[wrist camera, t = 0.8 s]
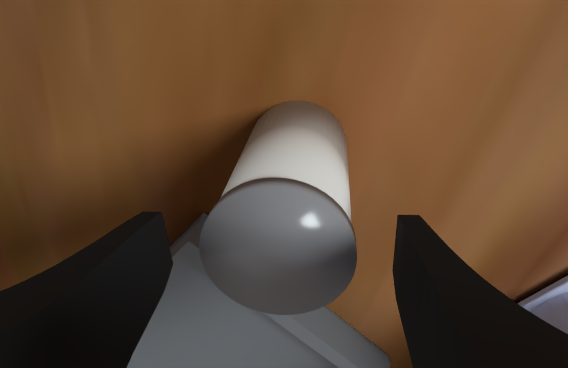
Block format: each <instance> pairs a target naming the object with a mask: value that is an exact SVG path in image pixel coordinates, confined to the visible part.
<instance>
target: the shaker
mask: <svg viewBox="0 0 568 368" xmlns="http://www.w3.org/2000/svg"><path fill="white" fill-rule="evenodd" d="M199 249H200V257H201V260H202V264H203V266H204V269H205V271H206V273H207V274H208V276H209V278H210V279H211V280H212V282H213V283H214V284H215V285H216V286H217V287H218V288H219V289H220V290H221V291H222V292H223V293H224V294H225V295H226V296H228V297H229V298H231V299H232V300H234V301H235V302H237V303H239V304H241V305H243V306H245V307H247V308H250V309H252V310H256V311H259V312H263V313H268V314H275V315H295V314H302V313H307V312H311V311H314V310H317V309H319V308H321V307H323V306H326V305H327V304H329V303H330V302H332V301H334V300H335V299H336V298H337V297H338V296H340V295H341V294H342V292H343V291H344V290H345V289H346V288H347V286H348V285H349V283H350V282H351V280H352V277H353V275H354V272H355V269H356V262H357V250H356V237H355V233H354V229H353V226H352V223H351V210H350V193H349V177H348V160H347V143H346V137H345V133H344V130H343V128H342V126H341V124H340V123H339V121H338V120H337V119H336V118H335V117H334V116H333V114H331V113H330V112H329V111H328V110H326V109H325V108H323V107H321V106H319V105H317V104H314V103H311V102H306V101H288V102H283V103H280V104H278V105H276V106H274V107H272V108H270V109H269V110H267V111H266V112H265V113H264V114H263V115H262V116H261V117H260V118H259V119H258V121H257V123H256V124H255V126H254V128H253V130H252V132H251V135H250V137H249V139H248V141H247V143H246V145H245V147H244V149H243V151H242V154H241V156H240V158H239V160H238V162H237V164H236V166H235V168H234V170H233V172H232V175H231V177H230V179H229V181H228V183H227V185H226V187H225V189H224V191H223V194H222V196H221V198H220V199H219V200H218V201H217V202H216V203H215V205H214V206H213V208H212V209H211V211H210V213H209V215H208V217H207V219H206V221H205V223H204V226H203V228H202V231H201V235H200V242H199Z"/></svg>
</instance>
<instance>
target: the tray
mask: <svg viewBox="0 0 568 368" xmlns="http://www.w3.org/2000/svg"><path fill="white" fill-rule="evenodd" d="M207 217H208V215H207V214H206V213H204V212H203V213H202V214H201V215H200V216H199V217H198V218H197V219H196V220H195V221H194V222H193V223H192V224H191V225H190V226H189V227H188V228H187V229H186V230H185V231H184V232H183V233H182V234H181V235H180V236H179V237H178V238H177V239H176V240H175V241H174V242H173V243H172V244H171V245H170V246H169V247H170V251H171V256H172V260H173V267H172V270H171V273H170V276H169V279H168V282H167V285H166V288H165V291H164V293H163V295H162V297H161V299H160V301H159V303H158V305H157V307H156V309H155V311H154V313H153V315H152V317H151V319H150V321H149V323H148V325H147V327H146V329H145V331H144V333H143V335H142V337H141V339H140V341H139V343H138V345H137V347H136V349H135V351H134V353H133V355H132V357H131V359H130V361H129V364H128V366H127V368H391V366H390V359H389V356H388V355H387V354H386V353H385V352H383V351H382V350H381V349H379V348H378V347H377V346H376V345H374V344H373V343H372V342H370V341H369V340H368V339H367V338H365V337H364V336H363V335H361V334H360V333H359V332H358V331H356V330H355V329H354V328H352V327H351V326H350V325H348V324H347V323H346V322H345V321H343V320H342V319H341V318H339V317H338V316H337V315H336V314H334V313H333V312H332V311H330V310H329V309H328V308H327V307H325V306H323V307H321V308H319V309H317V310H314V311H311V312H307V313H302V314H295V315H275V314H268V313H263V312H259V311H256V310H252V309H250V308H247V307H245V306H243V305H241V304H239V303H237V302H235V301H234V300H232V299H231V298H229V297H228V296H226V295H225V294H224V293H223V292H222V291H221V290H220V289H219V288H218V287H217V286H216V285H215V284H214V283H213V282H212V280H211V279H210V278H209V276H208V274H207V273H206V271H205V269H204V266H203V264H202V260H201V257H200V249H199V242H200V235H201V231H202V228H203V226H204V223H205V221H206V219H207Z"/></svg>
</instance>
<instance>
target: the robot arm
mask: <svg viewBox="0 0 568 368" xmlns="http://www.w3.org/2000/svg"><path fill="white" fill-rule="evenodd" d="M172 267H173V260H172V256H171V251H170V247H169V242H168V238H167V233H166V229H165V224H164V220H163V215H162V212H142V213H140V214H138V215H136V216H135V217H133V218H131V219H130V220H128V221H126V222H125V223H123V224H122V225H120V226H119V227H117V228H115V229H114V230H112V231H111V232H109V233H108V234H106V235H105V236H103V237H102V238H100V239H98V240H97V241H95V242H94V243H92V244H91V245H89V246H87V247H86V248H84V249H82V250H81V251H79V252H77V253H76V254H74V255H72V256H70V257H69V258H67V259H65V260H64V261H62V262H60V263H59V264H57V265H55V266H53V267H51V268H49V269H47V270H46V271H44V272H42V273H40V274H38V275H36V276H34V277H31V278H29V279H27V280H25V281H23V282H21V283H19V284H17V285H14V286H12V287H10V288H7V289H5V290H2V291H0V368H127V366H128V364H129V361H130V359H131V357H132V355H133V353H134V351H135V349H136V347H137V345H138V343H139V341H140V339H141V337H142V335H143V333H144V331H145V329H146V327H147V325H148V323H149V321H150V319H151V317H152V315H153V313H154V311H155V309H156V307H157V305H158V303H159V301H160V299H161V297H162V295H163V293H164V291H165V288H166V285H167V282H168V279H169V276H170V273H171V270H172ZM393 277H394V286H395V294H396V301H397V305H398V309H399V313H400V317H401V321H402V325H403V329H404V333H405V337H406V341H407V345H408V349H409V353H410V357H411V361H412V364H413V368H568V276H566V277H564V278H562V279H560V280H559V281H557V282H555V283H553V284H551V285H550V286H548V287H546V288H544V289H542V290H541V291H539V292H537V293H535V294H533V295H532V296H530V297H528V298H526V299H524V300H523V301H521V302H519V303H516V302H514V301H513V300H511V299H510V298H509V297H507V296H506V295H504V294H503V293H502V292H500V291H499V290H498V289H496V288H495V287H494V286H492V285H491V284H490V283H488V282H487V281H486V280H485V279H483V278H482V277H481V276H480V275H479V274H478V273H476V272H475V271H474V270H473V269H472V268H471V267H469V266H468V265H467V264H466V263H465V262H464V261H463V260H462V259H461V258H460V257H459V256H458V255H457V254H456V253H455V252H454V251H453V250H451V249H450V248H449V247H448V245H447V244H446V243H445V242H444V241H443V240H442V239H441V238H440V237H439V236H438V235H437V234H436V233H435V232H434V231H433V230H432V228H431V227H430V226H429V225H428V224H427V223H426V222H425V221H424V220H423V219H422V218H421V217H420V216H419V215H398V217H397V228H396V239H395V250H394V261H393Z"/></svg>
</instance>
